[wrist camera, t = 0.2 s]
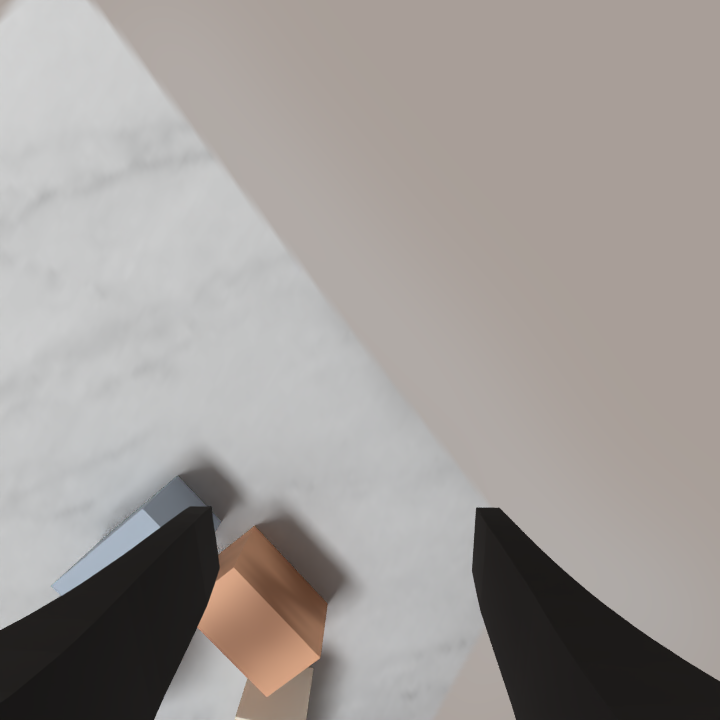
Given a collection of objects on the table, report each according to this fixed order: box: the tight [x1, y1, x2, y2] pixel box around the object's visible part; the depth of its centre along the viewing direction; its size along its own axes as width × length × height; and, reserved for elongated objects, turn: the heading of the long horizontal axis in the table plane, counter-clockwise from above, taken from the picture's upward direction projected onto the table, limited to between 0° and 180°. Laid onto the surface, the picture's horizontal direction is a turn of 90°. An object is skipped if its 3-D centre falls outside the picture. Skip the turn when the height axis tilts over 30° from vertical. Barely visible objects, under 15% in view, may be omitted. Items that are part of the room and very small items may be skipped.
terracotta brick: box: [197, 526, 328, 697], centre depth 21 cm, size 6×3×4 cm, turn 40°
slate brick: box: [51, 476, 221, 596], centre depth 21 cm, size 6×3×4 cm, turn 130°
